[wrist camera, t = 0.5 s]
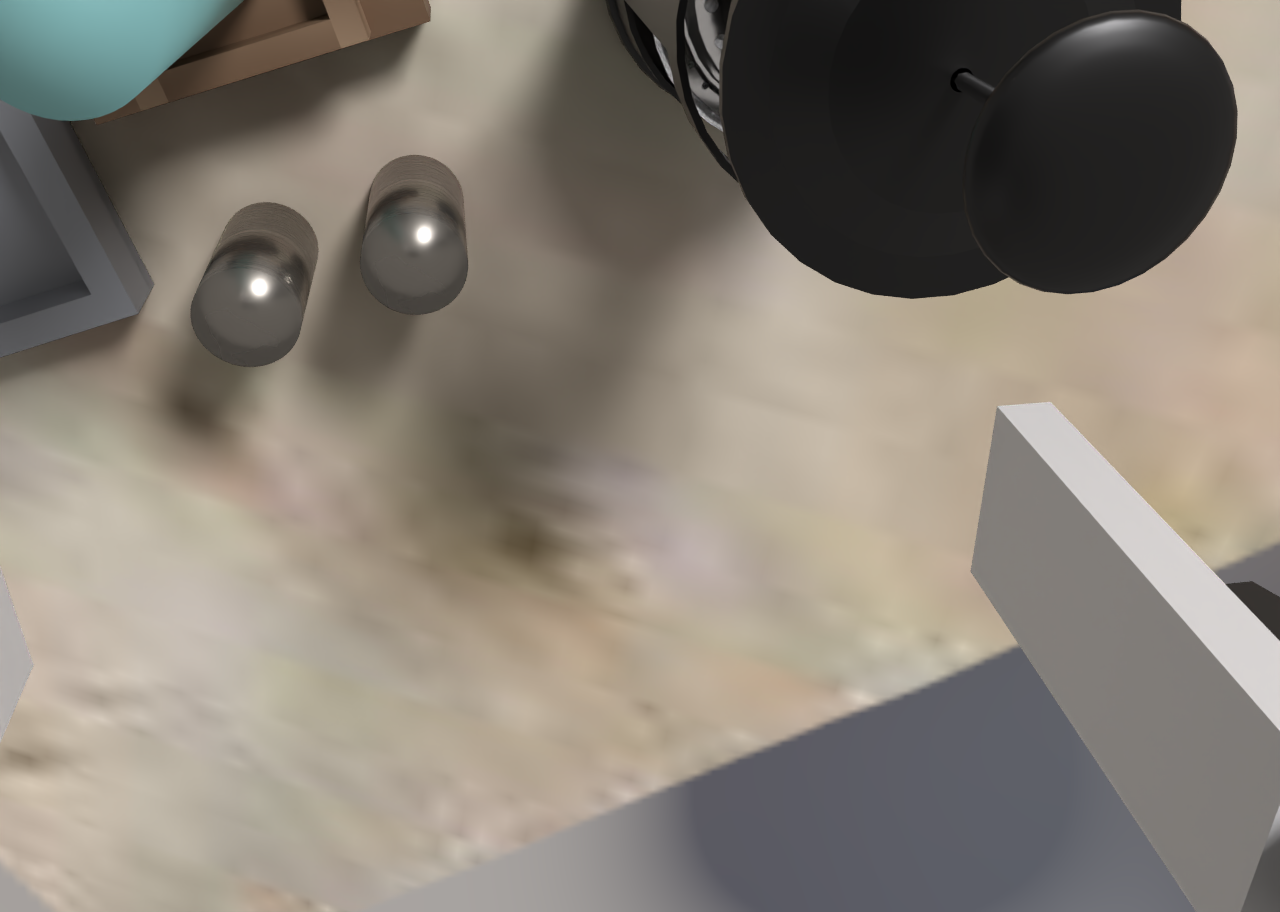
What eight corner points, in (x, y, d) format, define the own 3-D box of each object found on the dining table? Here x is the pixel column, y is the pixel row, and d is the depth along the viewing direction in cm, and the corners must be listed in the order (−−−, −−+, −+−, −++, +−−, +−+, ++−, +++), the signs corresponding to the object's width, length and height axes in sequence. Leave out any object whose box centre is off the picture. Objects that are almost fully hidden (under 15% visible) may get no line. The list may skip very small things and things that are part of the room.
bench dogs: (206, 218, 39) (171, 287, 33) (444, 143, 39) (446, 200, 33) (246, 301, 40) (219, 379, 35) (476, 229, 40) (482, 296, 35)
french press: (869, 137, 41) (1286, 483, 21) (591, 128, 39) (754, 493, 19) (934, -270, 35) (1592, -328, 15) (612, -299, 33) (874, -405, 14)
